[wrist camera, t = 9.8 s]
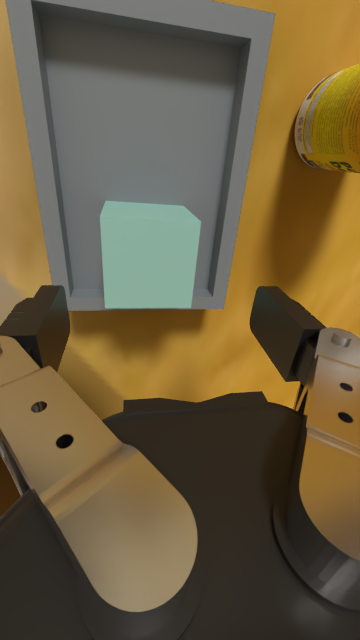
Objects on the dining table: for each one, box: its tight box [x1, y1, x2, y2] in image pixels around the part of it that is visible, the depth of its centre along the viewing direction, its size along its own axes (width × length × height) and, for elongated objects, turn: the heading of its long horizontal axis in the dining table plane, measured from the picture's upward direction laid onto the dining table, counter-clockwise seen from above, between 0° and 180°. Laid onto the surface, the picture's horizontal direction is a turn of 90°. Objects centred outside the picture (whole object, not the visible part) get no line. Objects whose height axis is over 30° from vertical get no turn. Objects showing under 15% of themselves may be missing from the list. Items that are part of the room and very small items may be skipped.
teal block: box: [100, 201, 201, 308], centre depth 17 cm, size 5×5×5 cm
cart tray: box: [6, 0, 275, 311], centre depth 18 cm, size 12×16×4 cm
